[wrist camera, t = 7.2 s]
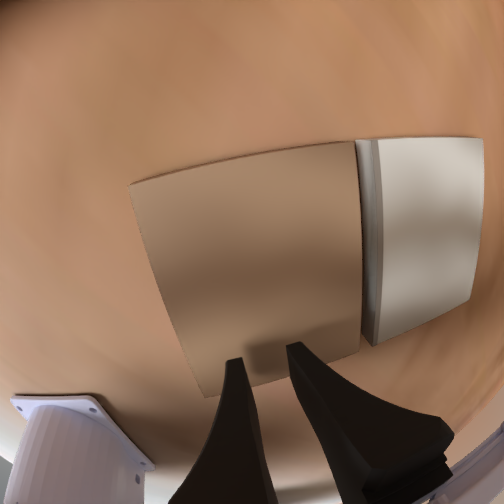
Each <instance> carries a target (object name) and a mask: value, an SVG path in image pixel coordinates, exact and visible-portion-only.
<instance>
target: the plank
mask: <svg viewBox="0 0 504 504" xmlns="http://www.w3.org/2000/svg"><path fill="white" fill-rule="evenodd" d="M128 190H129V193H130V197H131V201H132V205H133V208H134V212H135V216H136V219H137V223H138V226H139V230H140V233H141V236H142V239H143V243H144V246H145V249H146V252H147V255H148V258H149V262H150V265H151V268H152V271H153V273H154V276H155V279H156V282H157V285H158V288H159V291H160V293H161V296H162V299H163V302H164V304H165V307H166V310H167V312H168V315H169V317H170V320H171V322H172V325H173V327H174V330H175V332H176V335H177V337H178V340H179V342H180V345H181V347H182V349H183V352H184V354H185V356H186V359H187V361H188V363H189V365H190V368H191V370H192V372H193V374H194V377H195V379H196V381H197V383H198V385H199V387H200V389H201V392H202V394H203V396H204V398H208V397H213V396H217V395H221V393H222V389H223V383H224V376H225V362H226V361H227V360H230V359H235V358H239V357H242V358H243V362H244V365H245V369H246V372H247V375H248V379H249V382H250V386H251V387H254V386H258V385H262V384H265V383H269V382H272V381H276V380H279V379H282V378H286V377H289V376H290V372H289V365H288V358H287V351H286V345H288V344H292V343H295V342H299V341H301V342H303V343H304V344H305V345H306V347H307V348H308V349H309V350H311V351H312V352H313V353H314V354H315V355H316V356H317V357H318V358H319V359H320V360H321V361H323V362H324V363H325V364H328V363H330V362H333V361H336V360H338V359H341V358H344V357H346V356H349V355H351V354H354V353H356V352H359V346H360V331H361V310H362V235H361V213H360V198H359V185H358V174H357V164H356V155H355V147H354V142H329V143H321V144H313V145H305V146H298V147H291V148H284V149H278V150H272V151H266V152H260V153H255V154H249V155H244V156H239V157H234V158H229V159H224V160H219V161H214V162H210V163H205V164H201V165H197V166H192V167H188V168H184V169H180V170H176V171H172V172H168V173H164V174H161V175H157V176H153V177H150V178H146V179H143V180H139V181H136V182H133V183H132V184H130V185H129V186H128Z"/></svg>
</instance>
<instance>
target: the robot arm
mask: <svg viewBox="0 0 504 504" xmlns="http://www.w3.org/2000/svg"><path fill="white" fill-rule="evenodd" d="M286 351H287V358H288V365H289V372H290V378H291V381H292V384H293V387H294V390H295V392H296V395H297V398H298V400H299V402H300V404H301V406H302V408H303V410H304V412H305V414H306V416H307V417H308V419H309V421H310V423H311V425H312V427H313V429H314V431H315V433H316V435H317V437H318V439H319V441H320V443H321V445H322V448H323V451H324V453H325V456H326V458H327V461H328V463H329V466H330V469H331V471H332V474H333V477H334V480H335V482H336V485H337V488H338V491H339V494H340V496H341V499H342V502H343V504H422V503H423V502H425V501H427V500H428V499H430V500H429V503H428V504H489V503H490V502H492V501H493V500H494V498H496V497H497V496H498V494H500V493H501V492H502V490H503V489H504V421H503V423H502V424H501V426H500V427H499V428H498V429H497V430H496V431H495V432H494V433H493V434H492V435H490V436H489V437H488V438H487V439H486V440H485V441H484V442H483V443H481V444H480V445H479V446H478V447H477V448H476V449H474V450H473V451H472V452H471V453H469V454H468V455H467V456H465V457H464V458H463V459H462V460H460V461H459V462H458V463H456V464H455V465H454V466H452V467H451V468H449V467H448V466H447V464H446V463H445V462H446V461H447V458H446V456H445V455H444V451H445V450H446V449H447V448H448V446H449V445H450V443H451V442H452V440H453V439H454V432H453V431H452V430H451V428H450V427H449V426H448V425H447V424H446V423H445V422H444V421H443V420H442V419H441V418H440V417H437V416H432V415H427V414H422V413H418V412H414V411H411V410H408V409H405V408H402V407H399V406H397V405H394V404H392V403H389V402H387V401H384V400H382V399H380V398H378V397H375V396H373V395H371V394H369V393H368V392H366V391H364V390H362V389H360V388H359V387H357V386H355V385H354V384H352V383H351V382H349V381H348V380H346V379H345V378H343V377H342V376H341V375H339V374H338V373H336V372H335V371H334V370H333V369H331V368H330V367H329V366H328V365H326V364H325V363H324V362H323V361H321V360H320V359H319V358H318V357H317V356H316V355H315V354H314V353H313V352H312V351H311V350H309V349H308V348H307V347H306V345H305V344H304V343H303V342H301V341H299V342H295V343H292V344H288V345H286ZM10 401H11V403H12V404H13V405H14V407H15V408H16V409H17V410H18V411H19V412H20V413H21V415H22V416H23V417H24V418H25V419H26V420H27V421H28V423H27V425H26V428H25V431H24V433H23V436H22V439H21V442H20V445H19V448H18V451H17V454H16V457H15V460H14V463H13V467H12V470H11V474H10V478H9V481H8V485H7V489H6V493H5V498H4V502H3V504H144V479H145V471H154V470H155V465H154V464H153V463H152V462H151V461H150V460H149V459H148V458H147V457H146V456H145V455H144V454H143V453H142V452H141V451H140V450H139V449H138V448H137V447H136V446H135V445H134V444H133V443H132V442H131V441H130V439H129V438H128V437H127V436H126V435H125V434H124V433H123V432H122V431H121V429H120V428H119V427H118V426H117V425H116V424H115V422H114V421H113V420H112V419H111V418H110V417H109V415H108V414H107V413H106V412H105V410H104V409H103V408H102V407H101V405H100V404H99V403H98V401H97V400H96V399H95V398H93V397H91V396H87V395H85V396H12V397H11V399H10ZM168 504H278V500H277V497H276V494H275V491H274V487H273V484H272V481H271V477H270V474H269V470H268V467H267V463H266V460H265V455H264V450H263V444H262V438H261V432H260V426H259V419H258V413H257V408H256V404H255V400H254V397H253V393H252V389H251V386H250V382H249V379H248V375H247V372H246V369H245V365H244V362H243V358H242V357H239V358H235V359H230V360H227V361H226V362H225V376H224V383H223V389H222V393H221V398H220V402H219V406H218V409H217V412H216V416H215V419H214V422H213V425H212V428H211V430H210V433H209V435H208V438H207V440H206V442H205V445H204V447H203V449H202V451H201V453H200V455H199V457H198V459H197V461H196V462H195V464H194V466H193V467H192V469H191V471H190V472H189V474H188V475H187V477H186V479H185V480H184V482H183V483H182V484H181V486H180V487H179V488H178V490H177V491H176V492H175V494H174V495H173V496H172V498H171V499H170V500H169V502H168Z"/></svg>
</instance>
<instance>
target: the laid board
mask: <svg viewBox="0 0 504 504" xmlns="http://www.w3.org/2000/svg"><path fill="white" fill-rule="evenodd" d="M355 141H356V149H357V158H358V167H359V178H360V189H361V203H362V221H363V251H364V288H363V318H362V335H363V336H364V337H365V338H366V340H367V341H368V342H369V343H370V344H371V346H372V347H373V346H375V345H377V344H379V343H381V342H384V341H386V340H388V339H391V338H393V337H395V336H398V335H400V334H402V333H405V332H407V331H409V330H411V329H413V328H415V327H418V326H420V325H422V324H424V323H426V322H428V321H430V320H432V319H434V318H436V317H438V316H440V315H442V314H444V313H446V312H448V311H450V310H452V309H453V308H455V307H457V306H459V305H461V304H463V303H464V302H466V301H468V300H469V299H470V295H471V290H472V286H473V281H474V276H475V270H476V265H477V258H478V252H479V244H480V236H481V227H482V215H483V199H484V152H483V138H475V137H464V136H414V137H389V138H373V139H360V140H355Z"/></svg>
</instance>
